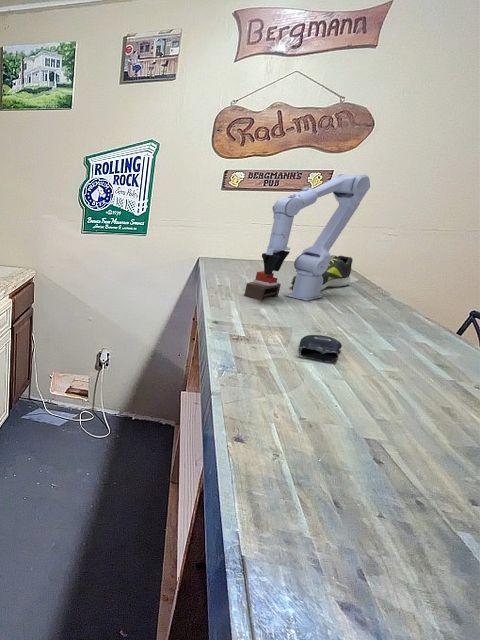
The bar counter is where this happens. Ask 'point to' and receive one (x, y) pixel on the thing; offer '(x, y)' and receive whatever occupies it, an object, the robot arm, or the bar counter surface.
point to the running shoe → (336, 272)
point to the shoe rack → (261, 290)
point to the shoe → (265, 279)
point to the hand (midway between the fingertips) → (271, 272)
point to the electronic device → (319, 348)
